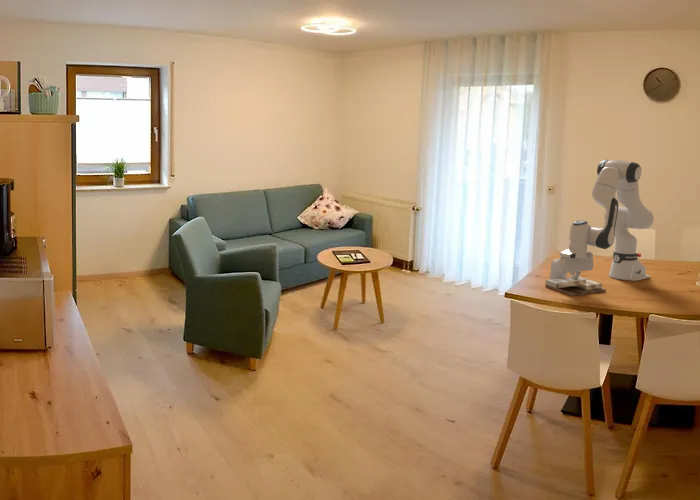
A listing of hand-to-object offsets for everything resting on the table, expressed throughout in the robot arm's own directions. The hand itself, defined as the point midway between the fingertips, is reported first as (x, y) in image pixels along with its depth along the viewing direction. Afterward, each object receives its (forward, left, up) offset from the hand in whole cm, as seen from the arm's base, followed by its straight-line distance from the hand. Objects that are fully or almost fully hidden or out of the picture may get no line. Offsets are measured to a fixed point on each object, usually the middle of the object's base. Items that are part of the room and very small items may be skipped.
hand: (574, 279), depth 349 cm
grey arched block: (-10, -22, -7) cm, 25 cm away
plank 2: (-11, -2, -5) cm, 13 cm away
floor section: (-6, -5, -7) cm, 10 cm away
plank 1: (0, -2, -4) cm, 4 cm away
